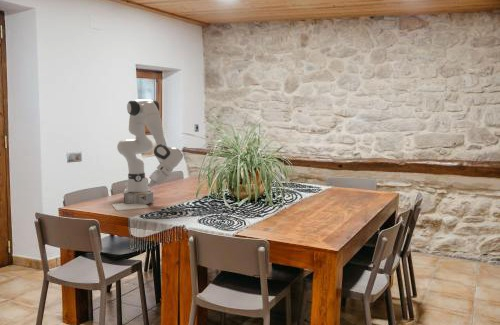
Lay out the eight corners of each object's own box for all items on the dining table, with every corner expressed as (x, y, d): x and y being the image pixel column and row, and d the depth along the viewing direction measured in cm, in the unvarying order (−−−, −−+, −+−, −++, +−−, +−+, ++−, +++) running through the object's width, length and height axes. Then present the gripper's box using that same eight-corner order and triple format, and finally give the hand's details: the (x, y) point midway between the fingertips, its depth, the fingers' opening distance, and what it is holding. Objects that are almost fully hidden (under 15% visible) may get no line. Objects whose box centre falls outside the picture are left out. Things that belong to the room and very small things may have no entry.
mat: (111, 205, 297) (111, 204, 297) (141, 202, 305) (141, 201, 305) (116, 211, 279) (116, 210, 279) (148, 207, 287) (148, 206, 287)
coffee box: (153, 201, 302) (130, 200, 306) (153, 191, 302) (130, 191, 305) (147, 204, 294) (124, 203, 297) (147, 194, 293) (123, 193, 297)
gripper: (156, 165, 307) (141, 181, 304) (163, 168, 288) (148, 185, 285) (163, 171, 309) (149, 187, 306) (171, 175, 290) (156, 192, 288)
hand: (149, 186), depth 296 cm, fingers closed
